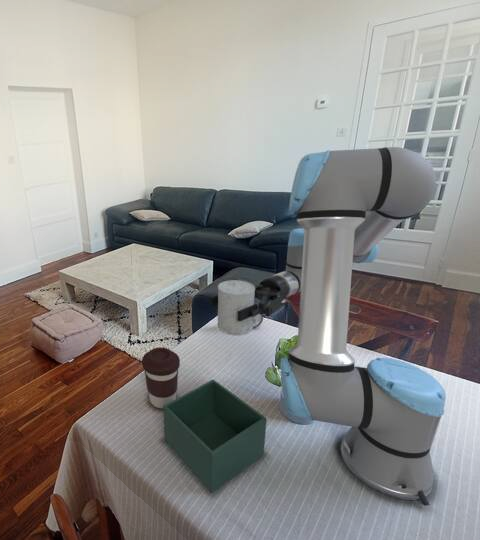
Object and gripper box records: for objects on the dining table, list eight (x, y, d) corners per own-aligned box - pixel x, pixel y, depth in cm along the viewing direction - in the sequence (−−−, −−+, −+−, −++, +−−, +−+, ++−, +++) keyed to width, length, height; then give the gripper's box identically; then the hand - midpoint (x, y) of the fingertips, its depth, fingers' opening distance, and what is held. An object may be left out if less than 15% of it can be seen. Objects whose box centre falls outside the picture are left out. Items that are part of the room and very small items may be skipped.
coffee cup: (139, 394, 96) (135, 349, 91) (169, 383, 99) (168, 340, 94) (154, 417, 88) (151, 370, 82) (187, 405, 91) (186, 359, 85)
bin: (263, 455, 75) (266, 418, 71) (211, 493, 68) (212, 454, 64) (212, 412, 88) (213, 379, 84) (164, 440, 81) (163, 405, 77)
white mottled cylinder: (256, 322, 97) (258, 282, 92) (248, 338, 89) (250, 296, 85) (222, 315, 102) (223, 278, 97) (212, 331, 94) (213, 291, 90)
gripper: (312, 311, 93) (257, 338, 83) (247, 287, 111) (196, 307, 101) (315, 287, 90) (259, 311, 80) (248, 266, 109) (195, 284, 99)
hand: (224, 309), depth 91 cm, fingers closed on white mottled cylinder, 9 cm apart
